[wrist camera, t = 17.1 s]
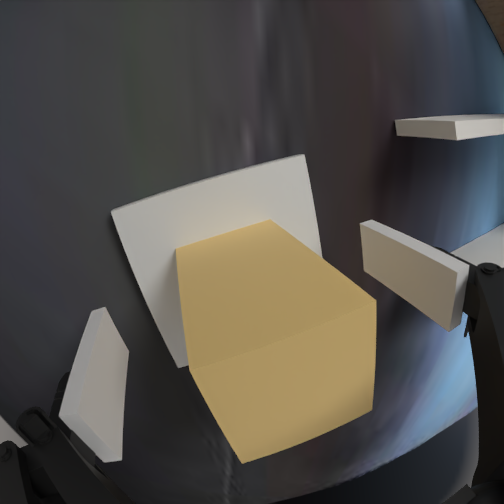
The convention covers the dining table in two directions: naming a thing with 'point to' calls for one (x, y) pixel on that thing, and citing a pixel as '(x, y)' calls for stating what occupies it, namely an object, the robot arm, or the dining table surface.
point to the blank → (274, 338)
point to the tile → (209, 228)
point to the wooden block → (494, 17)
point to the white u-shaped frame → (458, 128)
